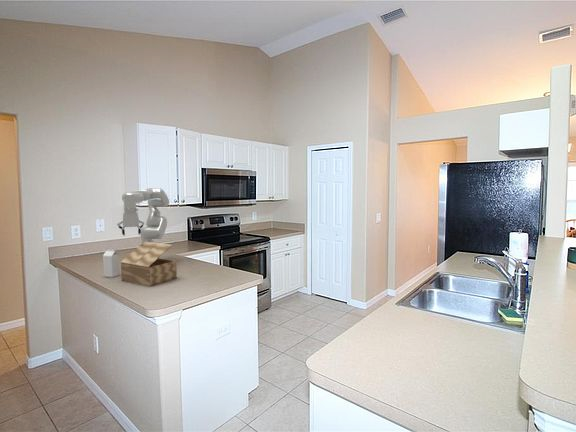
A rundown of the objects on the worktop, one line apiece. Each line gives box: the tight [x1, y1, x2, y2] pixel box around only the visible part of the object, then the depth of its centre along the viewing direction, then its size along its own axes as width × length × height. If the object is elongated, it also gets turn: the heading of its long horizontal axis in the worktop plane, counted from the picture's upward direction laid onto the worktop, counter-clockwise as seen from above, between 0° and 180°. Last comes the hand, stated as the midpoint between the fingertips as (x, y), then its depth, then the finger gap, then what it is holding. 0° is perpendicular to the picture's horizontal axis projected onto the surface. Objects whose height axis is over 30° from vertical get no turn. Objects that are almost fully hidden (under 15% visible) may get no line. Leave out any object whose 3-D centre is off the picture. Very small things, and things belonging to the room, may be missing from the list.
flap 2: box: [134, 242, 173, 267], centre depth 210 cm, size 22×14×1 cm
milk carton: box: [102, 248, 121, 278], centre depth 224 cm, size 7×7×19 cm
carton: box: [120, 257, 178, 287], centre depth 216 cm, size 22×28×12 cm
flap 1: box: [120, 242, 159, 265], centre depth 217 cm, size 22×14×1 cm
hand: (131, 234), depth 224 cm, fingers open, 9 cm apart
